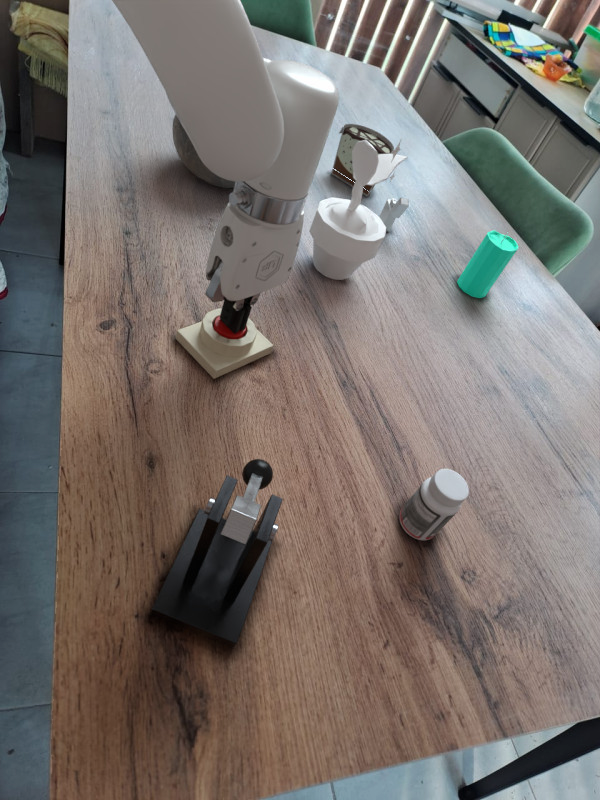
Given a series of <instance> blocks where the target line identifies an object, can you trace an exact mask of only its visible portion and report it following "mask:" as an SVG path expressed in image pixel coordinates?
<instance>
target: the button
mask: <svg viewBox="0 0 600 800" xmlns="http://www.w3.org/2000/svg"><path fill="white" fill-rule="evenodd" d="M213 329H214V330H215V331H216V332H217V333H218V334H219V335H220V336H222V337H225V338H227V339H240V338H242V337H243V336H244V333H245V330H246V327H245V330H242V331H240V330H239V332H237V333H235V334H234V333H233V332H232V331H231V330H230V329H229V328H228V327H227V326H226V325H225V324H224V323H223V322H222V321H221V320H220V316H219V317H217V318H216V320H215V323H214V327H213Z"/></svg>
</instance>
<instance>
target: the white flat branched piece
mask: <svg viewBox="0 0 600 800" xmlns="http://www.w3.org/2000/svg"><path fill="white" fill-rule="evenodd" d="M409 203H410V200H409V198H404V197H399V199H396V198H393V197H392V198H391V199H388V198H387V200H386V202H385V203H384V206H383V208H382V210H381V212H380V214H379V215H378V216H379V217H380V219H381V220H382V222H383V223H384V225H385V226H386V232H388V233H389V232H390V231H391V229H392V227H393V225H394V223H395V221H396V220H397V219H400V218H401V216H402V215H403V214H404V213H405V212H406V211H407V209H408V208H409Z"/></svg>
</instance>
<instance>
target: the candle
mask: <svg viewBox="0 0 600 800" xmlns="http://www.w3.org/2000/svg"><path fill="white" fill-rule="evenodd" d="M508 234H509V232H507V233H506V234H503V233H500V232H499V231H497V230H495V229H492V230H490V231H488V232H487V233H486V235H485V236H484V237H483V239H482V241H480V242H481V243H480V244H479V245H478V247H477V249H476V250H475V251H474V253H473V255H472V256H471V258H470V260H469V261H468V263H467V265H466V266H465V267H464V269H463V270H462V272H461V274H460V276H459V277H458V279H457V282H456V283H457V285H458V288H459V289H460V290H461V291H462V292H463V293H465V294H467V295H469V296H470V297H473V298H477V299H482V298H485V297H486V296H487V295H488V293H489V292H490V290H491V289H492V288H493V286H494V285H495V283H496V281H497V280H498V279H499V277H500V276H501V275H502V273H503V271H504V270H505V268H506V267H507V266H508V264H509V263H510V261H511V260H512V259H513V257H514V255H515V254H516V253H517V251H518V250H519V245H518V243H517V241H516V240H515V239H514V238H512V237H511V236H509V235H508Z"/></svg>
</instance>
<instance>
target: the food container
mask: <svg viewBox="0 0 600 800" xmlns="http://www.w3.org/2000/svg"><path fill="white" fill-rule="evenodd" d="M338 134H340V139H339V142H338V147H337V150H336V153H335V158H334V161H333V165H332V168H334V169H336V170H337V171H339V172H340V173H342V174H343V175H345V176H346V177H348V178H349V179H351V180H352V181H351V180H349V179H348V178H346V177H345V176H343V175H341V174H340V173H338V172H337V171H335V170H334V169H332V168H331V175H332V176H334V177H336V178H337V179H339V180H340V181H342V182H344V183H345V184H347V185H348V186H350V187H351V188H353V187H354V184H355V183H354V182H356V180H355V179H354V178H353V172H354V171H353V166H352V150H353V148H354V146H355V145H356V143H357V142H359V141H362V140H367V141H368V142H369V143H370V144H371V145H372V146H373V147H374V148H375V149H376V151H377V154H378V155H379V154H393V153H391V152H392V151H394V150H395V146H394V144H393V143H392V142H391V140H389V138H388V137H386V136H385V135H384V134H381V133H380V132H378V131H377V130H375V129H373V128H370V127H367V126H365V125H362V124H361V125H360V124H358V123H344V125H343V126H341V128H340V131H338ZM353 181H354V182H353ZM363 187H364V188H365V189H366V190H365V189H364V188H363V193H362V195H364V196H365V197H369V196H370V195H371V193H372V191H373V190H374V188H375V187H376V184H375V185H372V186H371V185H365V186H363ZM367 190H368V191H369V192H368V191H367ZM370 191H371V192H370Z"/></svg>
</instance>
